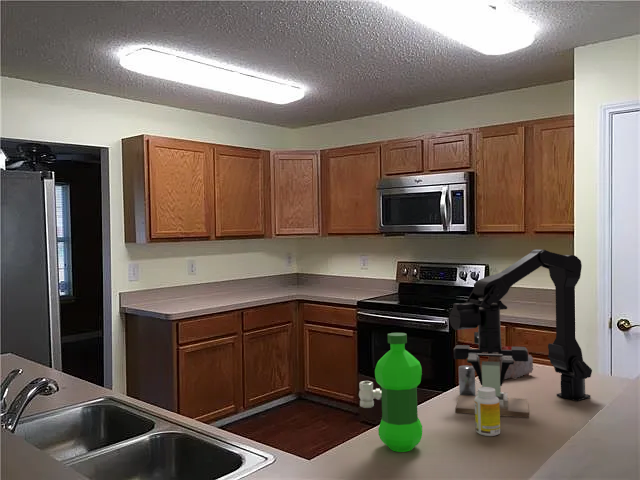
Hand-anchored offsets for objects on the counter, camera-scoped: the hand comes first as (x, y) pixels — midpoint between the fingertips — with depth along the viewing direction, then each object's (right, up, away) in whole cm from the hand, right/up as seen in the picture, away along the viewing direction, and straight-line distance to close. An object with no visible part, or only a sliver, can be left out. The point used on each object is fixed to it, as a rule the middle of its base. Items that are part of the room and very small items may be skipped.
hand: (491, 385), depth 146 cm
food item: (+16, -6, +31) cm, 36 cm away
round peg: (-3, -6, +13) cm, 14 cm away
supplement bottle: (-6, -7, -18) cm, 20 cm away
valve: (-29, -7, +6) cm, 30 cm away
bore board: (0, -6, 0) cm, 6 cm away
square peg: (0, -2, 0) cm, 2 cm away
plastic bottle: (-28, -7, -25) cm, 38 cm away
